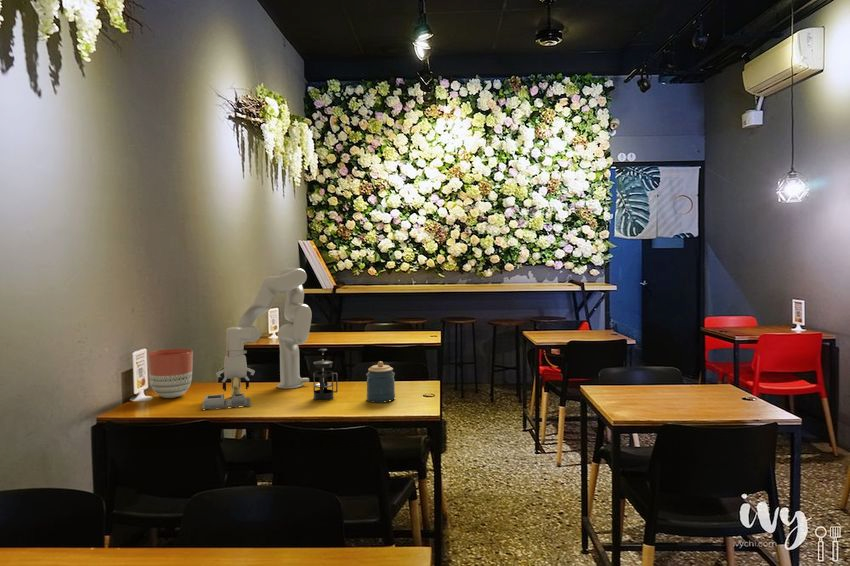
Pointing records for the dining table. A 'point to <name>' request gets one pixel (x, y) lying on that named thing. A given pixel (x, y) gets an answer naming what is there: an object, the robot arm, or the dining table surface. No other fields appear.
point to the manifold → (225, 401)
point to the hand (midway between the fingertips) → (236, 389)
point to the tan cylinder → (235, 385)
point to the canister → (380, 383)
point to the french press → (323, 380)
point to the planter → (170, 371)
